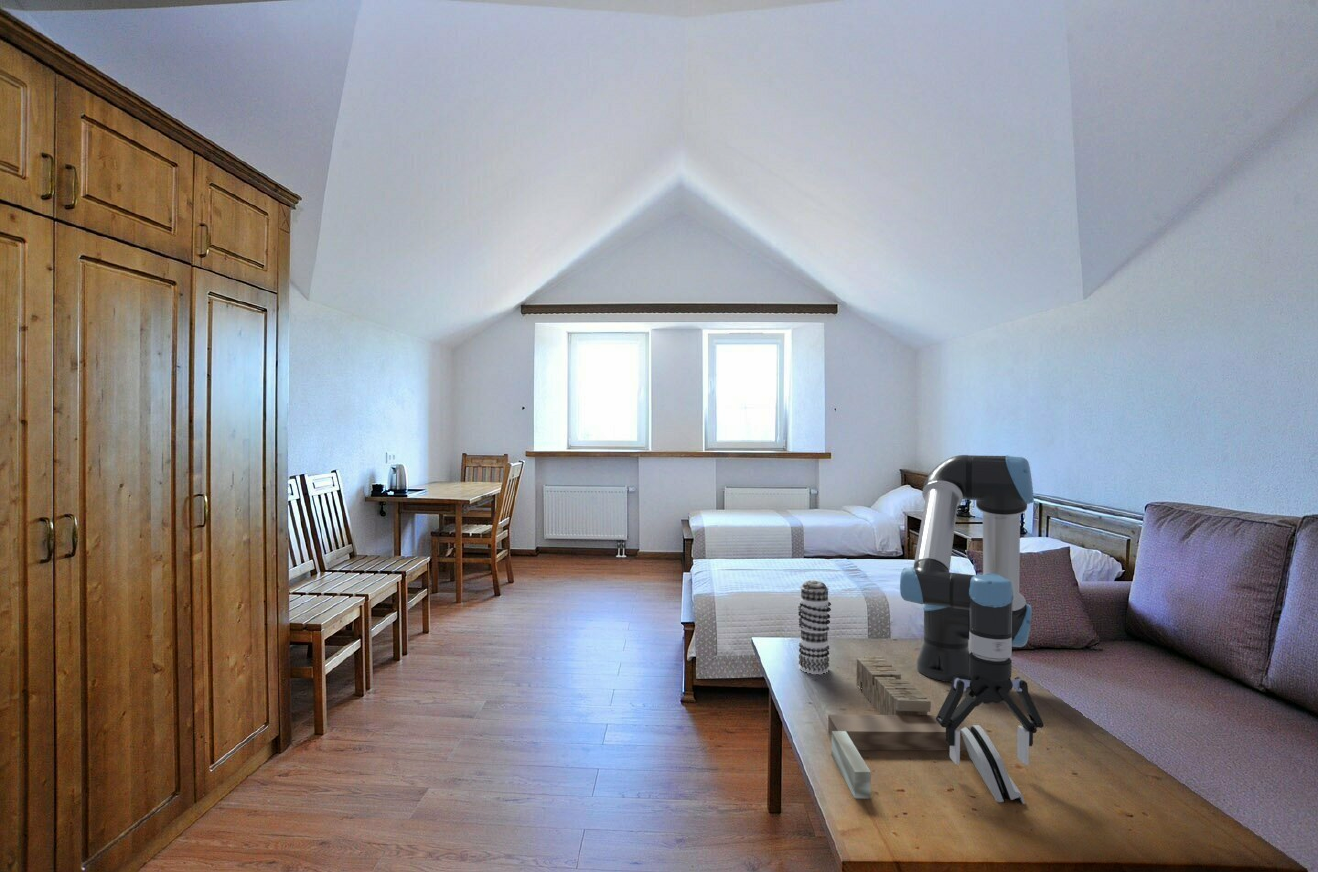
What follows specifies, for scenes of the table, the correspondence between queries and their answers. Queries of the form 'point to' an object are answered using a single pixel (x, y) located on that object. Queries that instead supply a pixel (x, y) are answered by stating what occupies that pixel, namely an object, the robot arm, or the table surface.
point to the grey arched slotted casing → (989, 764)
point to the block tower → (889, 688)
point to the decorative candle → (814, 627)
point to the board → (881, 741)
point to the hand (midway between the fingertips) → (988, 761)
